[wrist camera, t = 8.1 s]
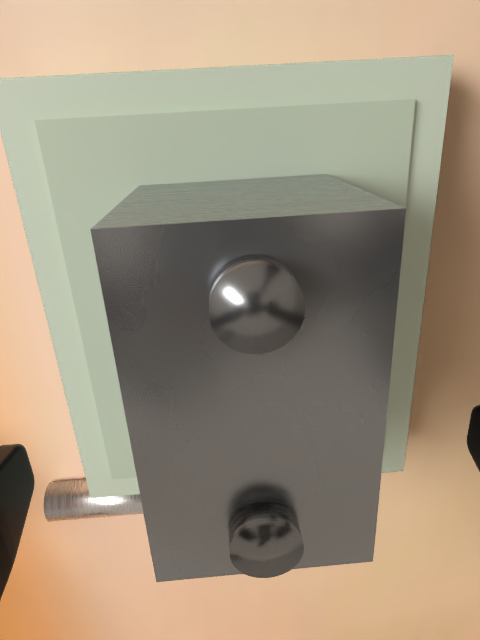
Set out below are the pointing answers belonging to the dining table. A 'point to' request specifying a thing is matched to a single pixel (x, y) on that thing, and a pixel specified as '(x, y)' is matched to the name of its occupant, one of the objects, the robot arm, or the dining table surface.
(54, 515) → the steel pin
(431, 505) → the dining table surface
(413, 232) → the pale green flat slab
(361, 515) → the block
